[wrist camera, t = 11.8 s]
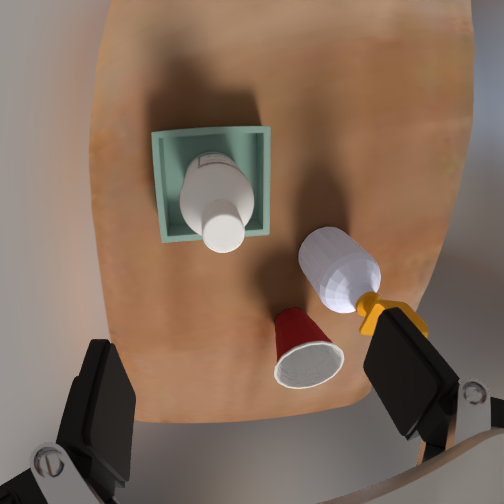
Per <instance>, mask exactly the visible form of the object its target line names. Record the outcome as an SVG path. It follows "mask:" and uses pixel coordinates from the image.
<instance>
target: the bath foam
mask: <svg viewBox="0 0 504 504" xmlns="http://www.w3.org/2000/svg"><path fill="white" fill-rule="evenodd" d="M179 203H180V209H181V213H182V215H183V218H184V220H185V221H186V223H187V224H188V226H189V227H190V228H191V229H192V230H193V231H195V232H196V233H198V234H199V235H201V236H202V238H203V241H204V243H205V244H206V245H207V246H208V247H209V248H210V249H211V250H213V251H216V252H220V253H226V252H230V251H233V250H234V249H236V248H237V247H238V246H239V245H240V244H241V243H242V241H243V239H244V235H245V228H244V227H245V225H246V224H247V223H248V221H249V219H250V217H251V215H252V212H253V208H254V194H253V189H252V186H251V184H250V182H249V180H248V179H247V178H246V176H245V175H244V174H243V173H242V171H241V170H240V169H239V168H238V166H237V165H236V164H235V163H234V161H233V160H232V159H231V158H230V157H228V156H227V155H225V154H223V153H220V152H214V151H212V152H205V153H202V154H200V155H198V156H197V157H196V158H194V159H193V160H192V161H191V163H190V164H189V166H188V168H187V170H186V173H185V177H184V180H183V184H182V188H181V191H180V197H179Z"/></svg>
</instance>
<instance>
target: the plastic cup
mask: <svg viewBox="0 0 504 504" xmlns="http://www.w3.org/2000/svg"><path fill="white" fill-rule="evenodd" d="M275 332H276V348H277V363H276V365H275V371H274V377H275V378H276V380H277V382H278V383H280V384H281V385H283V386H285V387H288V388H295V389H301V388H310V387H313V386H316V385H319V384H322V383H324V382H325V381H327V380H328V379H330V378H332V377H333V376H334V375H335V374H336V373H337V372H338V371H339V370H340V369H341V367H342V364H343V361H344V355H343V351H342V350H341V349H340V348H339V347H338V346H337V345H335V344H334V343H332V341H331V340H330V339H329V338H328V337H327V336H326V335H325V334H324V333H323V331H322V330H321V329H320V328H319V327H318V326H317V324H316V323H315V322H314V321H313V320H312V319H311V318H310V317H309V316H308V315H307V314H306V313H305V312H304V311H303V310H301V309H299V308H289V309H286V310H284V311H282V312H281V313H280V314H279V315H278V317H277V318H276V321H275Z"/></svg>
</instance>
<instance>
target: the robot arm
mask: <svg viewBox="0 0 504 504" xmlns="http://www.w3.org/2000/svg"><path fill="white" fill-rule="evenodd" d="M363 368H364V371H365V373H366V375H367V377H368V378H369V380H370V382H371V384H372V385H373V387H374V389H375V390H376V392H377V394H378V396H379V397H380V399H381V401H382V403H383V404H384V406H385V408H386V410H387V411H388V413H389V415H390V416H391V418H392V420H393V422H394V424H395V425H396V427H397V429H398V431H399V432H400V434H401V435H402V436H405V437H406V439H407V440H408V441H409V440H411V439H413V438H415V437H417V436H419V435H420V436H421V438H422V443H421V447H420V452H419V456H418V460H417V464H416V467H414V468H412V469H410V470H407V471H405V472H403V473H401V474H399V475H396V476H394V477H392V478H390V479H387V480H385V481H383V482H380V483H378V484H375V485H372V486H370V487H367V488H365V489H362V490H359V491H356V492H354V493H350V494H347V495H345V496H341V497H338V498H335V499H332V500H328V501H325V502H321V503H317V504H504V400H502V399H498V398H493V397H490V393H489V390H488V388H487V387H486V385H485V384H483V383H482V382H481V381H479V380H476V379H471V378H469V379H465V380H464V381H462V382H461V384H459V383H458V380H459V379H460V378H459V377H458V376H457V375H456V373H455V372H454V371H453V370H452V368H451V367H450V366H449V365H448V364H447V362H446V361H445V360H444V359H443V357H442V356H441V355H440V354H439V353H438V351H437V350H436V349H435V348H434V347H433V346H432V344H431V343H430V342H429V341H428V340H427V338H426V337H425V336H424V335H423V334H422V333H421V331H420V330H419V329H418V328H417V327H416V326H415V325H414V323H413V322H412V321H411V320H410V319H409V318H408V317H407V316H406V314H405V313H404V312H403V311H402V310H401V309H400V308H399V307H394V308H389V309H385V310H383V311H382V313H381V314H380V315H379V317H378V320H377V323H376V327H375V330H374V333H373V336H372V340H371V343H370V346H369V349H368V352H367V355H366V358H365V361H364V364H363ZM135 404H136V396H135V392H134V390H133V387H132V385H131V383H130V381H129V378H128V376H127V374H126V372H125V369H124V367H123V364H122V362H121V359H120V357H119V355H118V352H117V349H116V347H115V345H114V344H113V343H110V342H109V340H107V339H93V340H91V342H90V344H89V347H88V349H87V352H86V355H85V358H84V361H83V364H82V367H81V370H80V373H79V376H76V377H75V378H74V380H73V382H72V385H71V389H70V392H69V395H68V399H67V402H66V405H65V409H64V413H63V416H62V420H61V424H60V428H59V432H58V436H57V440H56V444H55V443H43V444H40V445H39V446H38V447H36V448H35V449H34V451H33V452H32V454H31V457H30V468H29V469H27V470H26V471H24V472H22V473H21V474H19V475H17V476H16V477H14V478H13V479H11V480H9V481H8V482H6V483H4V484H2V485H1V486H0V504H119V502H118V501H117V500H116V499H115V498H114V491H115V487H119V488H125V481H129V477H130V460H131V446H132V434H133V423H134V413H135Z"/></svg>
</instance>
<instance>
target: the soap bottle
mask: <svg viewBox="0 0 504 504" xmlns="http://www.w3.org/2000/svg"><path fill="white" fill-rule="evenodd" d="M299 265H300V267H301V269H302V271H303V273H304V274H305V276H306V277H307V279H308V280H309V282H310V284H311V285H312V287H313V288H314V290H315V291H316V293H317V295H318V296H319V298H320V299H321V301H322V303H323V304H325V305H326V306H327V307H328V308H329V309H331V310H333V311H336V312H339V313H351V312H353V311H357V312H358V314H359V315H360V316H365V319H364V321H363V323H362V325H361V326H360V328H359V331H360V333H361V334H362V335H373V333H374V330H375V327H376V323H377V320H378V317H379V315H380V314H381V313H382V311H383V310H385V309H389V308H394V307H399V308H400V309H401V310H402V311H403V312H404V313H405V314H406V316H407V317H408V318H409V319H410V320H411V321H412V322H413V323H414V325H415V326H416V327H417V328H418V329H419V330H420V331H421V333H422V334H423V335H424V336H425V337H426V338H428V327H427V325H426V324H425V322H424V321H423V320H422V319H421V318H420V317H419V316H418V315H417V314H416V313H415V312H414V311H413V309H412V308H411V307H410V306H409V305H408V304H406V303H404V302H397V301H389V300H381V299H380V297H379V296H378V294H377V293H376V292H377V290H378V288H379V285H380V280H381V275H380V270H379V266H378V264H377V262H376V261H375V259H374V258H373V257H372V256H371V255H370V254H369V253H368V252H367V251H365V250H364V249H363V248H362V247H361V246H360V245H359V244H358V243H356V242H355V241H354V240H353V239H352V238H351V237H350V236H348V235H347V234H346V233H345V232H344V231H342V230H340V229H338V228H336V227H323V228H320V229H317V230H315V231H314V232H312V233H311V234H309V235H308V236H307V238H306V239H305V240H304V241H303V243H302V245H301V247H300V250H299Z"/></svg>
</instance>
